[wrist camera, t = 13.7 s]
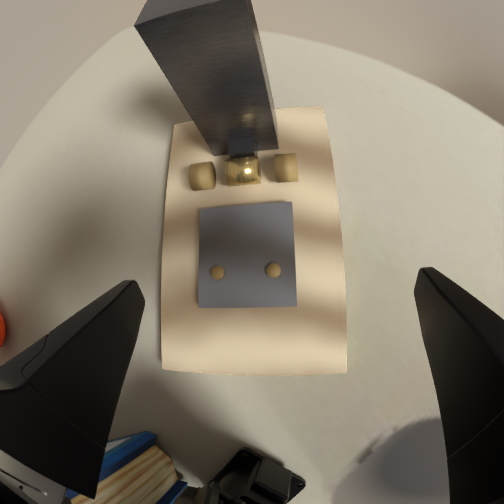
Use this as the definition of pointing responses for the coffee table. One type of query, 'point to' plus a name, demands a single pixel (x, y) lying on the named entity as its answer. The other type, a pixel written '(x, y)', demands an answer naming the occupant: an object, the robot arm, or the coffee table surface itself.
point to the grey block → (216, 76)
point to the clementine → (2, 330)
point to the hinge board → (254, 258)
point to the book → (134, 474)
